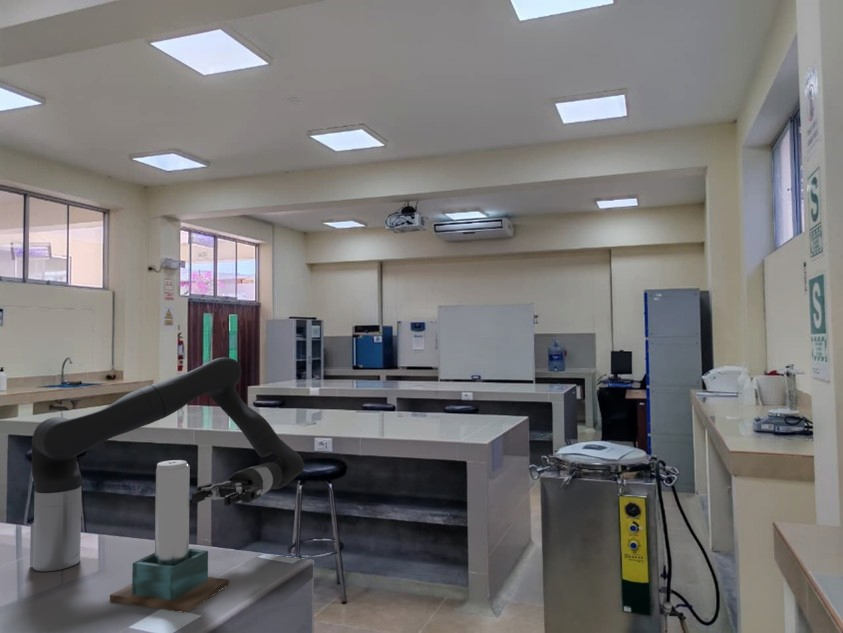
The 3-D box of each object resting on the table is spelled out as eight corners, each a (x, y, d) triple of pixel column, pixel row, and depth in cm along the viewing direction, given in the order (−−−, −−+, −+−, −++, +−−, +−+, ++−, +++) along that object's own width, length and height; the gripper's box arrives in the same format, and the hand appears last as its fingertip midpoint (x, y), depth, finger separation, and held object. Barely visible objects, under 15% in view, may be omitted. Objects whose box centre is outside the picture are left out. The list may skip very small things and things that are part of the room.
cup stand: (109, 601, 117) (110, 563, 117) (157, 575, 129) (157, 542, 129) (186, 612, 111) (187, 573, 112) (228, 585, 124) (228, 550, 124)
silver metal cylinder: (176, 594, 117) (177, 465, 118) (147, 591, 118) (148, 464, 119) (195, 581, 123) (196, 459, 124) (167, 579, 124) (168, 458, 125)
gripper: (226, 466, 150) (182, 481, 134) (276, 469, 146) (237, 485, 130) (226, 496, 150) (182, 514, 134) (276, 500, 145) (236, 519, 130)
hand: (209, 500), depth 132 cm, fingers open, 8 cm apart
